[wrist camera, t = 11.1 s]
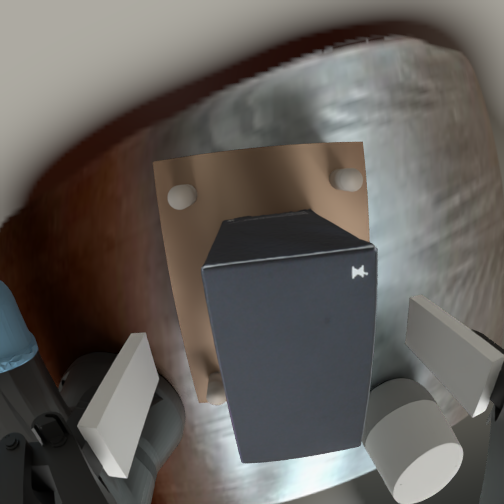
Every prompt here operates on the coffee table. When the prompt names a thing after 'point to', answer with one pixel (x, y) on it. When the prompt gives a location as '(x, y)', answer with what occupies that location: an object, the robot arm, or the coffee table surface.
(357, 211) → the pegged wooden board
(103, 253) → the coffee table surface
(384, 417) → the smart speaker
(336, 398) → the small box
